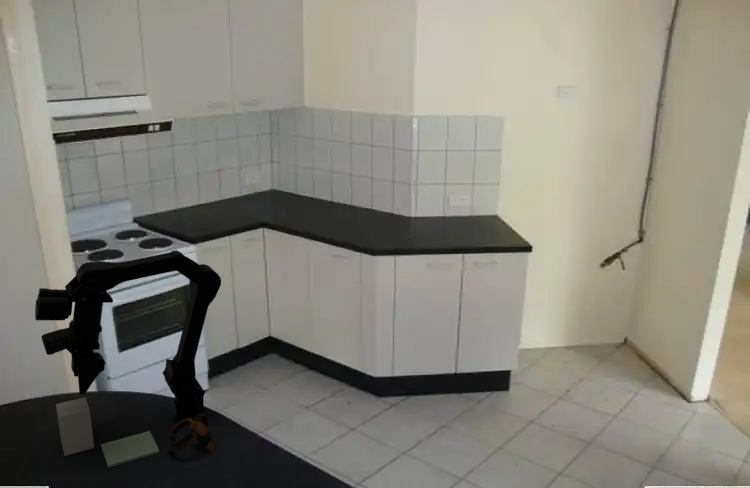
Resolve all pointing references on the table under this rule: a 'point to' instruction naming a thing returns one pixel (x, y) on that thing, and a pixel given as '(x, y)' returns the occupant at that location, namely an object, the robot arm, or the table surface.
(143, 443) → the sage mat
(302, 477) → the table surface
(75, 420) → the gray rectangular block
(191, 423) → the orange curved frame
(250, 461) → the table surface
